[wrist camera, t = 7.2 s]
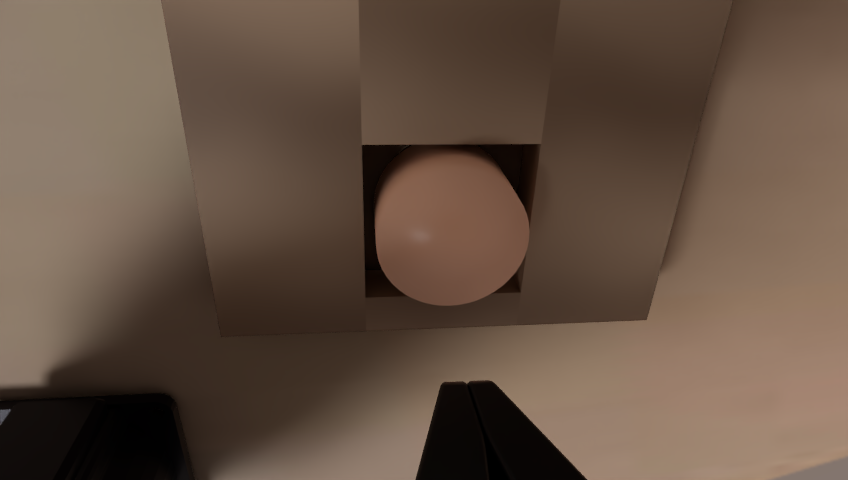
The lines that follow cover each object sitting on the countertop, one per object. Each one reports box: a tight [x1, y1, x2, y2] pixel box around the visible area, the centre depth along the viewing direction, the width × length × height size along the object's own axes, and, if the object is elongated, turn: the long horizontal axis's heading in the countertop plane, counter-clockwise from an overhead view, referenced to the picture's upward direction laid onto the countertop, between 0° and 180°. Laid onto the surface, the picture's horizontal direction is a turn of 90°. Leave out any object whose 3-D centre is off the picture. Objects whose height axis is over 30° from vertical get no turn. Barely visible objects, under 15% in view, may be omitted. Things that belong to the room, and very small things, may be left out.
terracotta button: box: [374, 144, 530, 306], centre depth 16 cm, size 4×4×2 cm
